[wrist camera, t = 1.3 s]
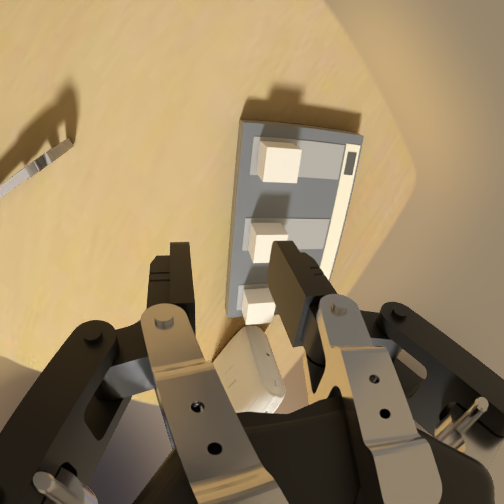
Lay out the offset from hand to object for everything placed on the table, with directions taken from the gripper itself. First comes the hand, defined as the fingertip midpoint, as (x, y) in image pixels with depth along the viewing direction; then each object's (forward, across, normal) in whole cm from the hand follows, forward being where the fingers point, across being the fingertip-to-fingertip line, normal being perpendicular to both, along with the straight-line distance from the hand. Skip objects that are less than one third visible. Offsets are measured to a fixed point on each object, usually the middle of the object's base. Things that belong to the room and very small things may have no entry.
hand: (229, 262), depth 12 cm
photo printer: (+19, -6, +27) cm, 34 cm away
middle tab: (+17, -6, +8) cm, 20 cm away
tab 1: (+17, -6, +16) cm, 24 cm away
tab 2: (+17, -6, 0) cm, 18 cm away
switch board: (+19, -10, +8) cm, 23 cm away
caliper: (+20, +22, +3) cm, 29 cm away
